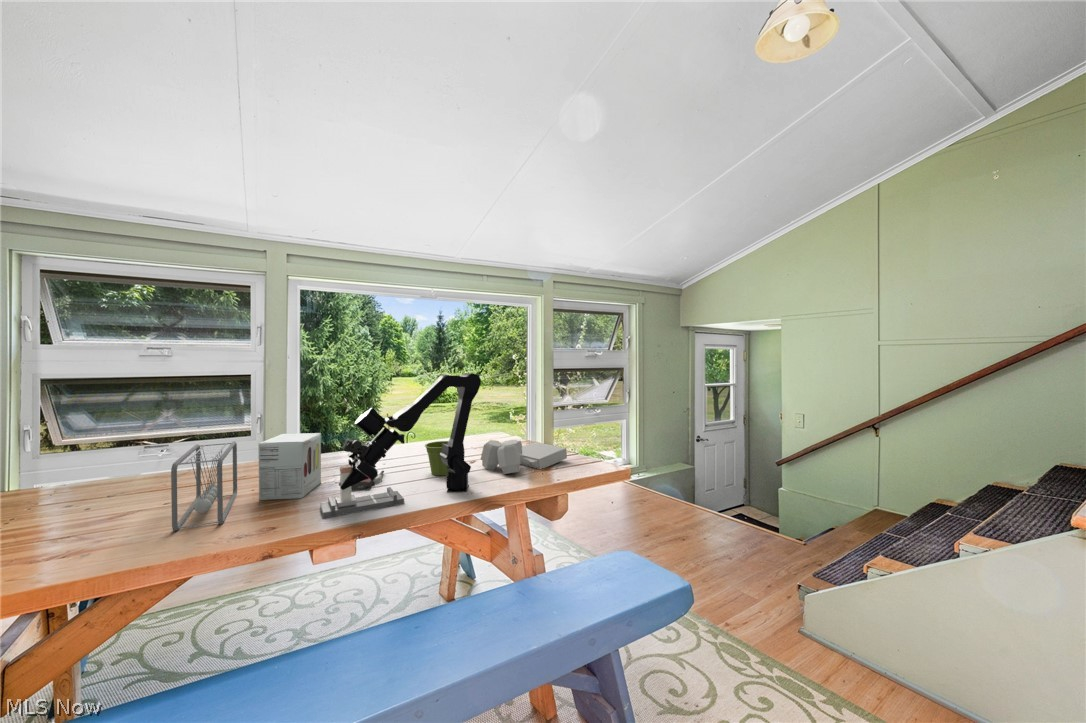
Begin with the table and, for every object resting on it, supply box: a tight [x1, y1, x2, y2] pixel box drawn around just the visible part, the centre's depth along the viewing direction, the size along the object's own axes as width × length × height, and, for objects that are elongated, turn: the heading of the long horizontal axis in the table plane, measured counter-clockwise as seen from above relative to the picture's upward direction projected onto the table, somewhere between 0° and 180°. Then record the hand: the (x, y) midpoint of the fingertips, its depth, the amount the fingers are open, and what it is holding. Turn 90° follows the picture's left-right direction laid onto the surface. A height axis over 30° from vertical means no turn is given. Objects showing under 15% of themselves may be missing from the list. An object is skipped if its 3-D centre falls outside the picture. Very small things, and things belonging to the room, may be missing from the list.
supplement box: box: [258, 432, 322, 501], centre depth 142 cm, size 17×13×18 cm
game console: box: [480, 439, 568, 475], centre depth 175 cm, size 20×32×13 cm, turn 135°
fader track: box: [319, 486, 405, 519], centre depth 128 cm, size 22×9×3 cm, turn 122°
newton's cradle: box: [170, 441, 238, 532], centre depth 124 cm, size 30×10×18 cm, turn 29°
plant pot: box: [424, 440, 449, 476], centre depth 164 cm, size 12×12×11 cm
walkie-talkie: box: [351, 470, 385, 491], centre depth 152 cm, size 9×4×20 cm
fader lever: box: [334, 464, 357, 507], centre depth 126 cm, size 5×6×11 cm
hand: (340, 487), depth 125 cm, fingers closed on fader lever, 3 cm apart
